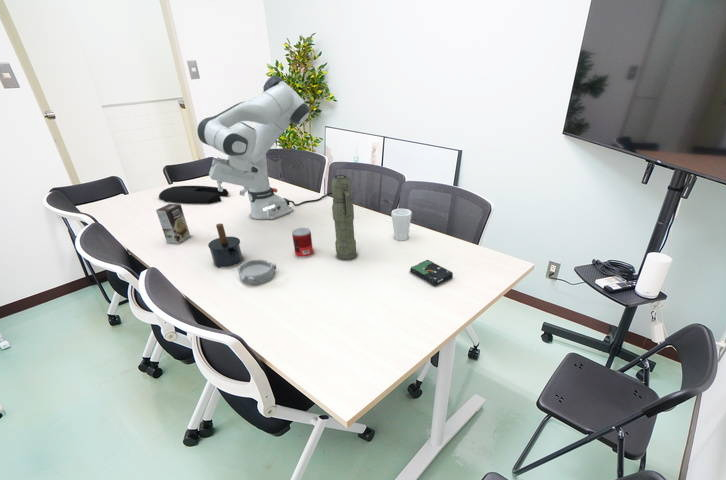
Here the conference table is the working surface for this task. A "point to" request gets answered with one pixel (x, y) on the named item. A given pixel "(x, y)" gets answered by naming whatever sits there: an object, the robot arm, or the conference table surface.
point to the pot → (227, 257)
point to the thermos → (343, 218)
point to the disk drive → (431, 272)
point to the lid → (223, 240)
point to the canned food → (302, 242)
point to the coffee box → (173, 223)
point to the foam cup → (401, 223)
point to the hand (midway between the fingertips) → (231, 193)
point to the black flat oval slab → (193, 194)
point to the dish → (256, 271)
